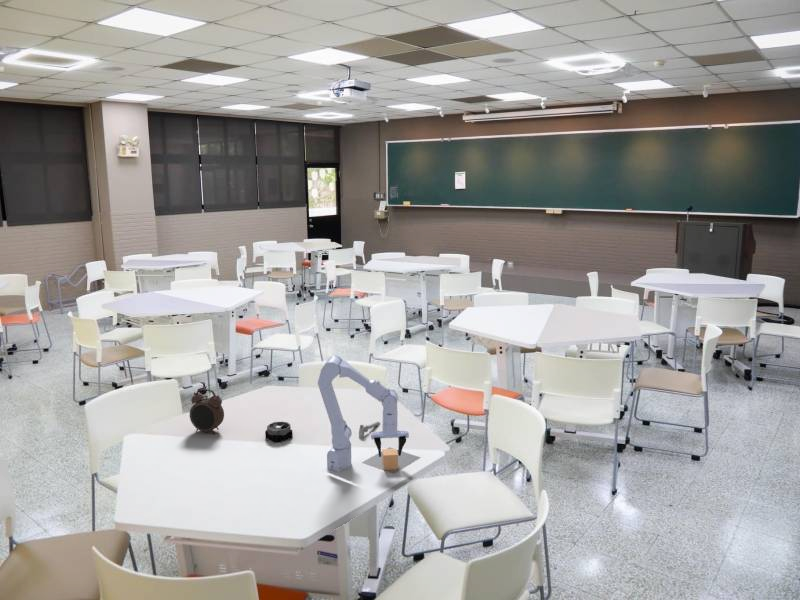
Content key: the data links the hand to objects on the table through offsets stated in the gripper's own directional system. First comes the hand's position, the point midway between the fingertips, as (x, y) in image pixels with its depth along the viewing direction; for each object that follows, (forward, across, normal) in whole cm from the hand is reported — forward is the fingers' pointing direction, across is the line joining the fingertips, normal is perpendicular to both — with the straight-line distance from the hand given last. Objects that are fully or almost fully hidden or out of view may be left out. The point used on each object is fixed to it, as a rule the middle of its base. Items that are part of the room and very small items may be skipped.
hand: (389, 455), depth 238 cm
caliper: (+6, +4, -38) cm, 39 cm away
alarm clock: (+6, +76, -47) cm, 90 cm away
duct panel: (+6, -2, -6) cm, 8 cm away
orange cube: (+5, 0, 0) cm, 5 cm away
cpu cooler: (+6, +44, -36) cm, 58 cm away
